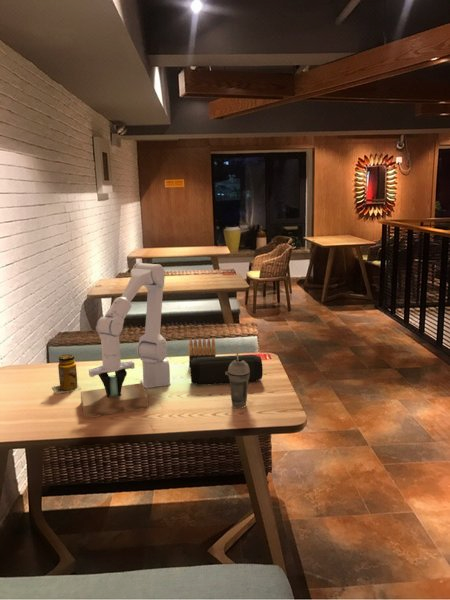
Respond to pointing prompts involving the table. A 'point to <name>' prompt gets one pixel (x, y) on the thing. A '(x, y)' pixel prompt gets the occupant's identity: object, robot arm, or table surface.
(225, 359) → the portable speaker
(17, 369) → the table surface
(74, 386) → the condiment
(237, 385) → the beverage cup
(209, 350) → the ammunition clip
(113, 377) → the peg
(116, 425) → the table surface
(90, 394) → the hole block
